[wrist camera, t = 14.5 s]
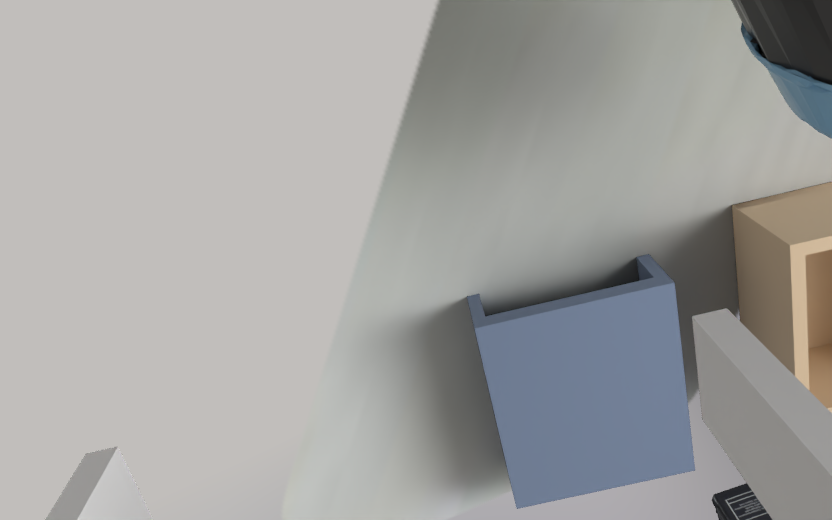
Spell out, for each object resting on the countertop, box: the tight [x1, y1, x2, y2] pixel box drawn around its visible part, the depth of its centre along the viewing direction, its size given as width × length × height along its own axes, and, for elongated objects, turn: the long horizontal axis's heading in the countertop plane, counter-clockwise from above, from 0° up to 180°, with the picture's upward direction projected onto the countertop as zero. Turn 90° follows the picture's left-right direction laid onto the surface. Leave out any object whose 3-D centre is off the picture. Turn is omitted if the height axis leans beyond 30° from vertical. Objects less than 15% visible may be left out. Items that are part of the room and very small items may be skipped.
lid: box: [467, 254, 695, 509], centre depth 47 cm, size 14×12×5 cm
